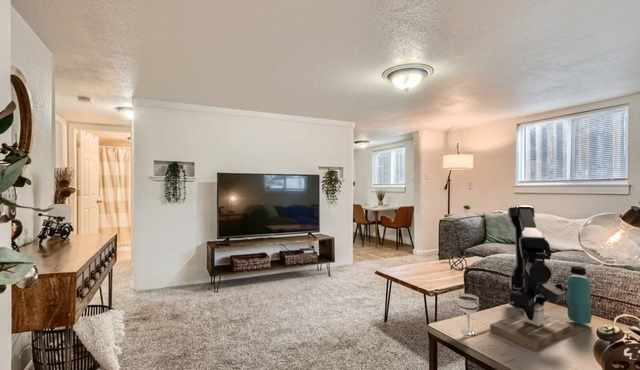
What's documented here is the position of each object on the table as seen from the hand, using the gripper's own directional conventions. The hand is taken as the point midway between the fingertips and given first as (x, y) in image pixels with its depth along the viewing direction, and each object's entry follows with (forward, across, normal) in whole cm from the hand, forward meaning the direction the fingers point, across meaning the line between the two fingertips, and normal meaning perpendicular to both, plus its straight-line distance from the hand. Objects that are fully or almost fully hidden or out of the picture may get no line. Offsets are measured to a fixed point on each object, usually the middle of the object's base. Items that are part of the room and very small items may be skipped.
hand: (533, 318), depth 106 cm
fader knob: (+2, 0, 0) cm, 2 cm away
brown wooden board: (+4, -2, 0) cm, 4 cm away
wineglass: (+4, -20, +10) cm, 22 cm away
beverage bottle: (+4, +18, -5) cm, 19 cm away
